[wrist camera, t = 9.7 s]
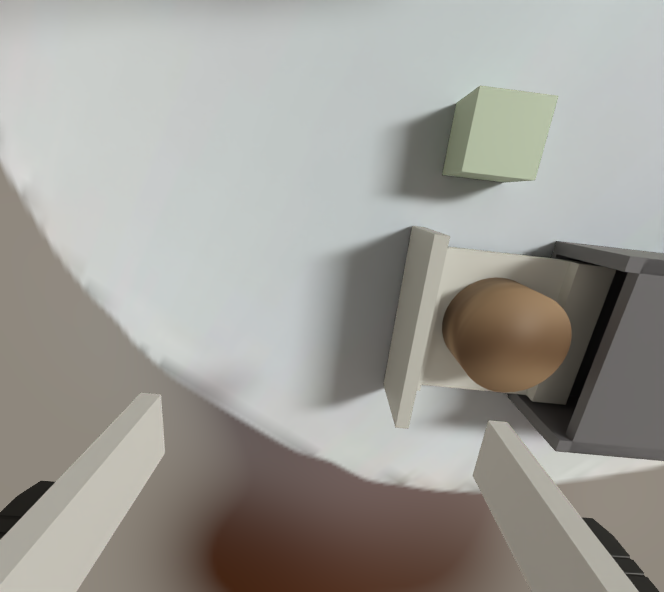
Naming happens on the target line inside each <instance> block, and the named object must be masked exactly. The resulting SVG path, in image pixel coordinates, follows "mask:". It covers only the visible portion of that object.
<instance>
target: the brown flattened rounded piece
mask: <svg viewBox="0 0 664 592" xmlns="http://www.w3.org/2000/svg"><path fill="white" fill-rule="evenodd" d="M442 334H443V339H444V342H445V344H446V346H447V348H448V349H449V351H450V352H451V353H452V355H453V356H454V357H455V359H456V360H457V361H458V363H459V364H460V365H461V367H462V368H463V369H464V371H465V372H466V373H467V375H468V376H469V377H470V378H471V379H472V380H473V381H474V382H475V383H476V384H478V385H480V386H481V387H483V388H486V389H488V390H492V391H496V392H517V391H522V390H525V389H529V388H531V387H533V386H536V385H538V384H539V383H541V382H543V381H544V380H546V379H547V378H548V377H550V376H551V375H552V374H553V373H554V372H555V371H556V370H557V369H558V368H559V366H560V365H561V364H562V362H563V361H564V359H565V357H566V355H567V353H568V351H569V348H570V344H571V338H572V330H571V324H570V321H569V318H568V316H567V314H566V312H565V311H564V309H563V308H562V307H561V306H560V305H559V304H558V303H557V302H556V301H554V300H553V299H551V298H549V297H547V296H545V295H543V294H541V293H539V292H537V291H535V290H533V289H530V288H528V287H526V286H524V285H522V284H520V283H518V282H516V281H514V280H511V279H507V278H496V277H495V278H487V279H482V280H480V281H477V282H474V283H472V284H470V285H469V286H467V287H465V288H464V289H463V290H461V291H460V292H459V293H458V294H457V295H456V296H455V297H454V298H453V299H452V301H451V302H450V304H449V305H448V307H447V309H446V311H445V314H444V317H443V322H442Z"/></svg>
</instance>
